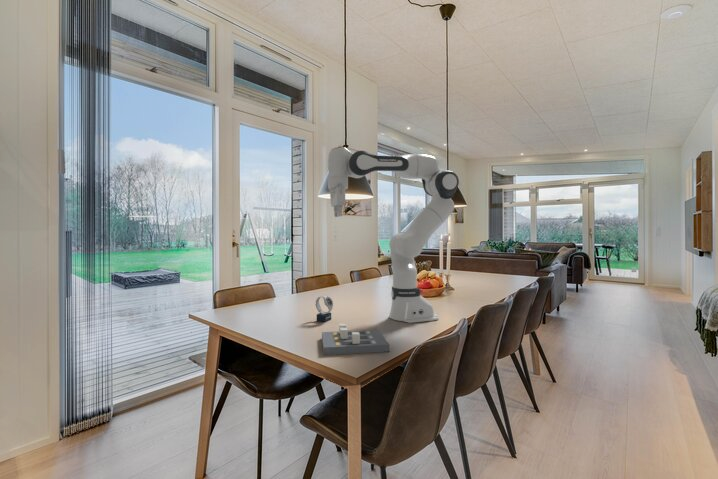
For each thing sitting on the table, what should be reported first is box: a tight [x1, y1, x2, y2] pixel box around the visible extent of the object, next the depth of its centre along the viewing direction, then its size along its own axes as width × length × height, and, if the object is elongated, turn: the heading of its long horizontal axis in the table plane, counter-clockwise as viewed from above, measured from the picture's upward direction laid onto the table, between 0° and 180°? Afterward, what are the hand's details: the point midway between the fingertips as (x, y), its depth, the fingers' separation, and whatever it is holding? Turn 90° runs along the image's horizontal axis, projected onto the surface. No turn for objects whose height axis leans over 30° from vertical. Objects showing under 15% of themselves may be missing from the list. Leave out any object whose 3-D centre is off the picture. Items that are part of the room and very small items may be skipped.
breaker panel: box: [321, 329, 390, 356], centre depth 127 cm, size 22×17×3 cm
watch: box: [315, 295, 334, 324], centre depth 159 cm, size 6×8×11 cm
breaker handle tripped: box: [352, 332, 360, 344], centre depth 121 cm, size 2×3×3 cm
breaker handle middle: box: [340, 327, 349, 339], centre depth 126 cm, size 2×3×3 cm
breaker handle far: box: [338, 323, 347, 334], centre depth 132 cm, size 2×3×3 cm
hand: (337, 216), depth 156 cm, fingers open, 8 cm apart
